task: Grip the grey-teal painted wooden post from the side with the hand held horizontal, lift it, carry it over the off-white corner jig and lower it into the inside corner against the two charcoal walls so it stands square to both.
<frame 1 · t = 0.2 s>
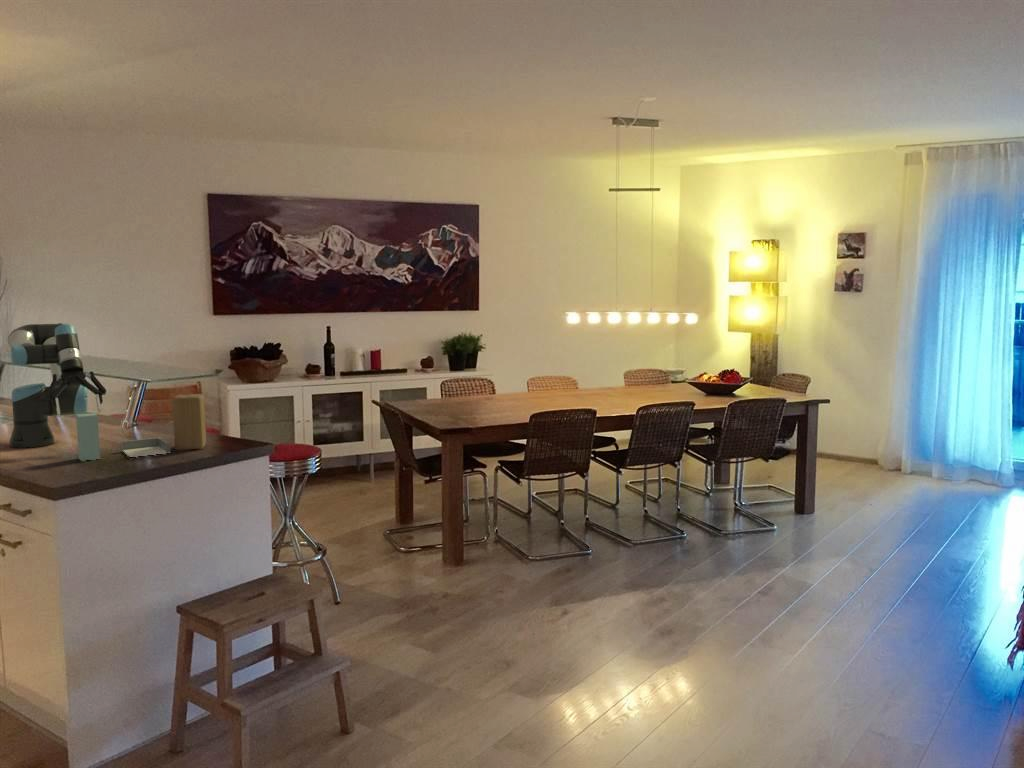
hand: (79, 413, 315), 15 cm above the countertop, tool tilted 35°, fingers open, 13 cm apart
teal post: (89, 459, 305), on the countertop
wooden block: (191, 448, 325), on the countertop
corner jig: (146, 452, 316), on the countertop
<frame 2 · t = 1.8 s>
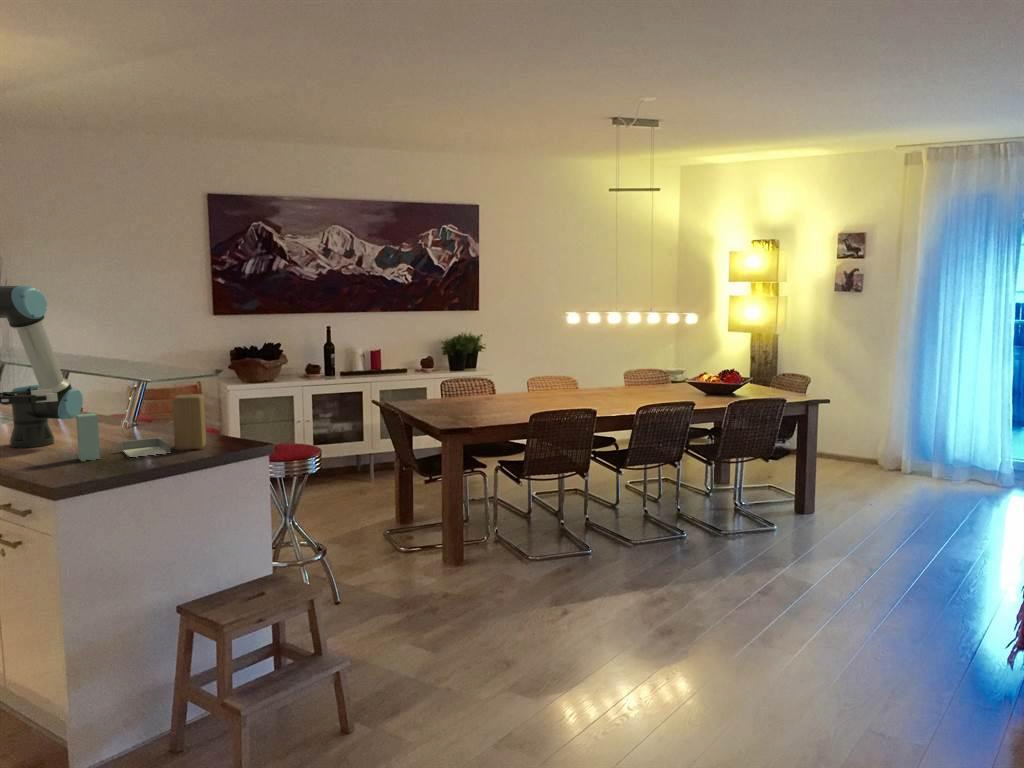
hand: (54, 394, 297), 24 cm above the countertop, tool horizontal, fingers open, 13 cm apart
nothing on the countertop moved.
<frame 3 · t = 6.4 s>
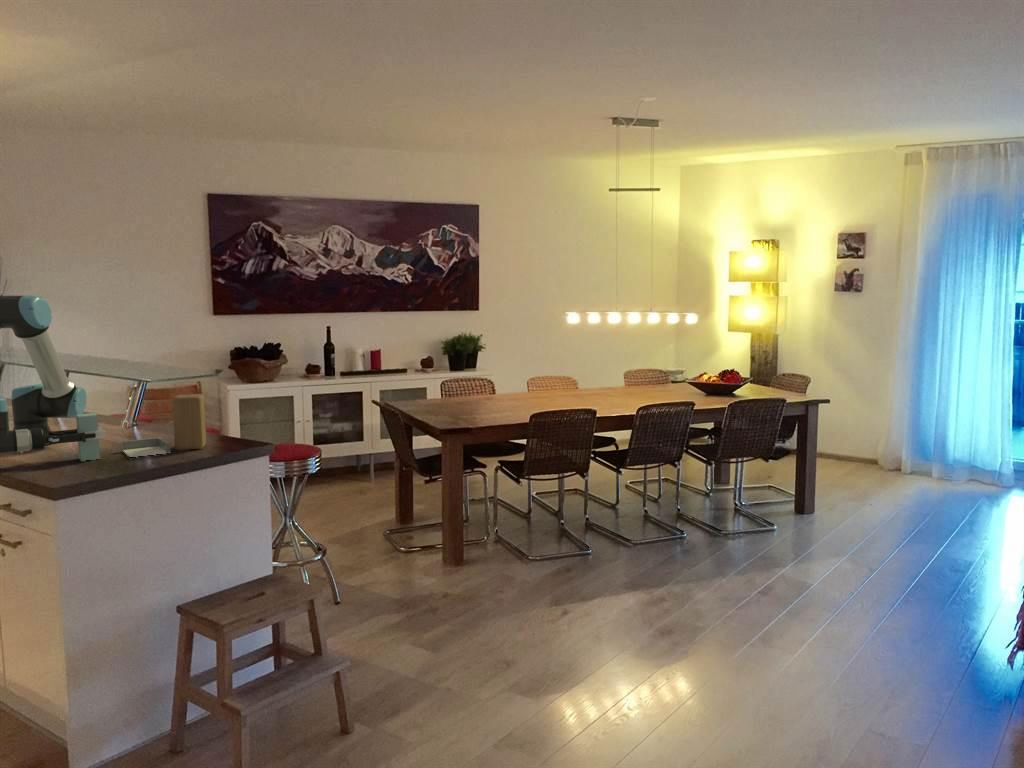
hand: (103, 432, 307), 9 cm above the countertop, tool horizontal, fingers closed on teal post, 6 cm apart
teal post: (89, 459, 305), on the countertop, touching gripper
everything else where it was.
when the fingers open (11 cm above the countertop, at t = 12.8 s): teal post drops 1 cm, resting on corner jig.
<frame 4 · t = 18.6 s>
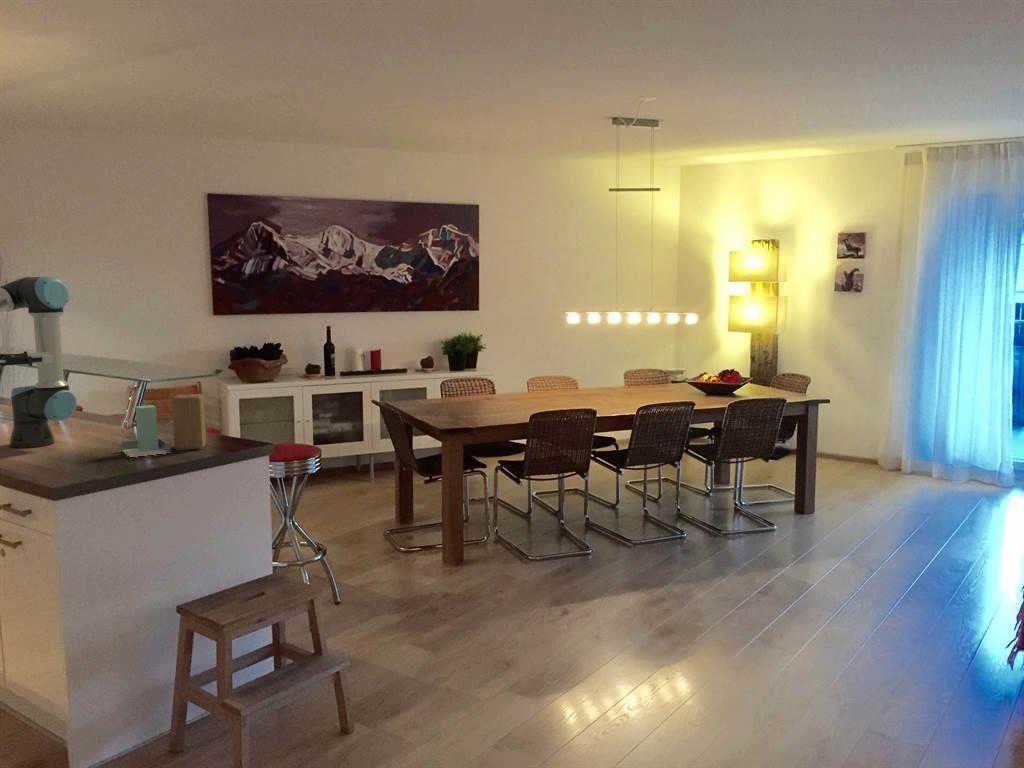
hand: (50, 357, 307), 36 cm above the countertop, tool horizontal, fingers open, 13 cm apart
teal post: (148, 449, 317), point 1 cm above the countertop, touching corner jig
everything else where it was.
at the end: teal post 0.4 cm from the target spot, point 1.0 cm above the countertop; teal post tilted 0°; the gripper is holding nothing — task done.
